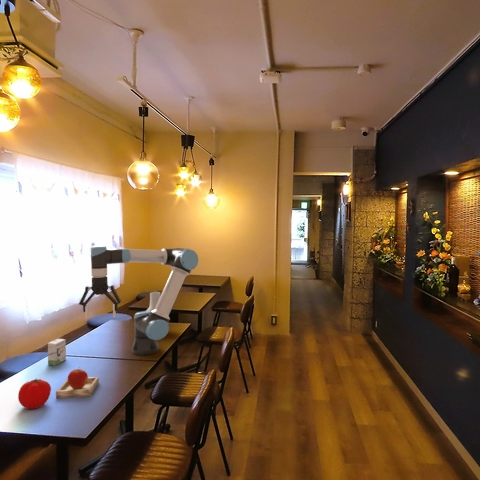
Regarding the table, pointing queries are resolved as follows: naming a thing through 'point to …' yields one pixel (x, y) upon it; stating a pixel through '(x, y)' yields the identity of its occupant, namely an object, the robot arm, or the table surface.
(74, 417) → the table surface
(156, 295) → the vase
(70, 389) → the tray
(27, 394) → the tomato
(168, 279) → the robot arm
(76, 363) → the table surface
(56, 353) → the ink box
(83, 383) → the apple
